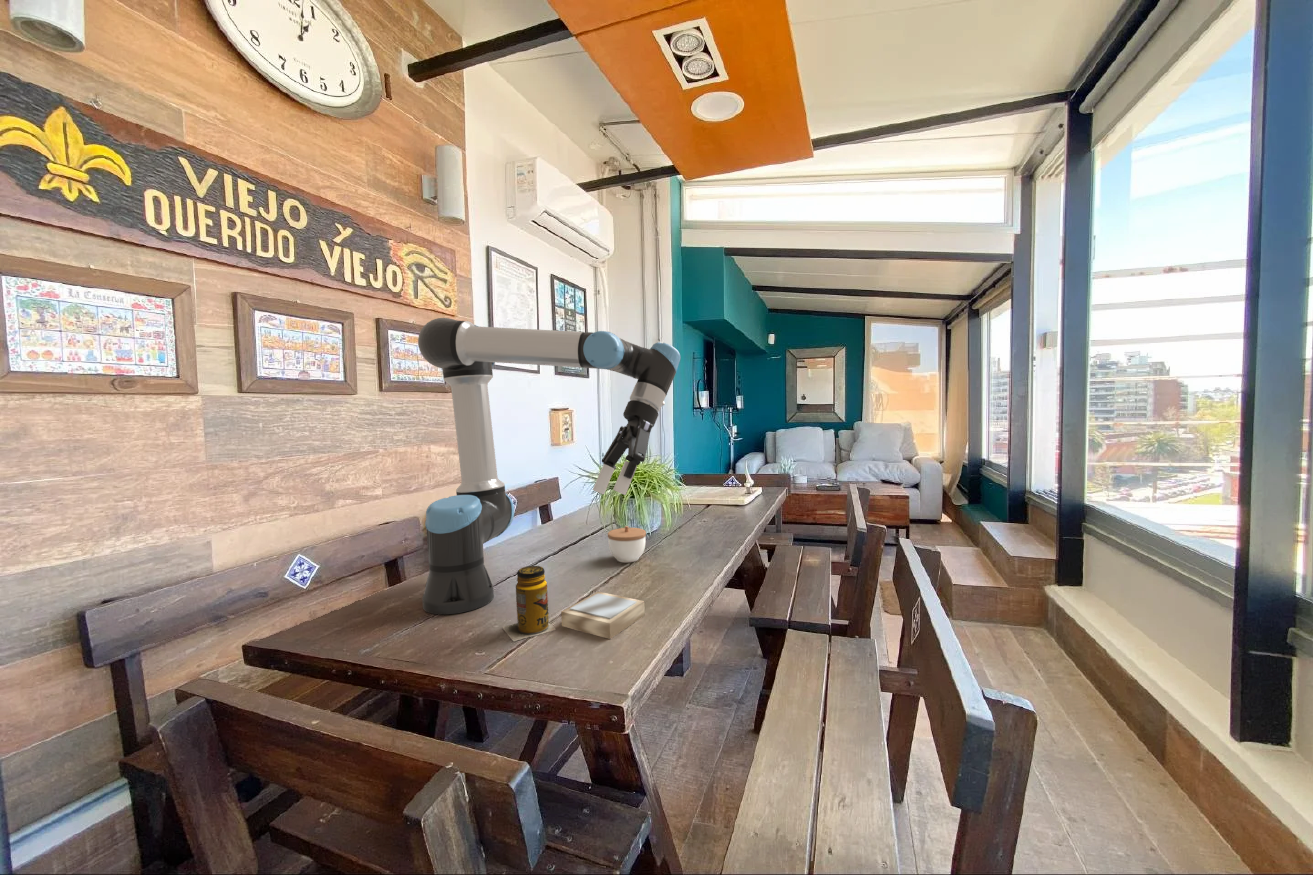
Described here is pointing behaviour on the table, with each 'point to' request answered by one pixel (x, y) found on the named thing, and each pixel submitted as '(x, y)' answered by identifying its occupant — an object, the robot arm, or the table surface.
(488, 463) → the robot arm
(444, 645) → the table surface
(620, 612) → the plinth
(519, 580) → the condiment
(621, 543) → the lidded jar
